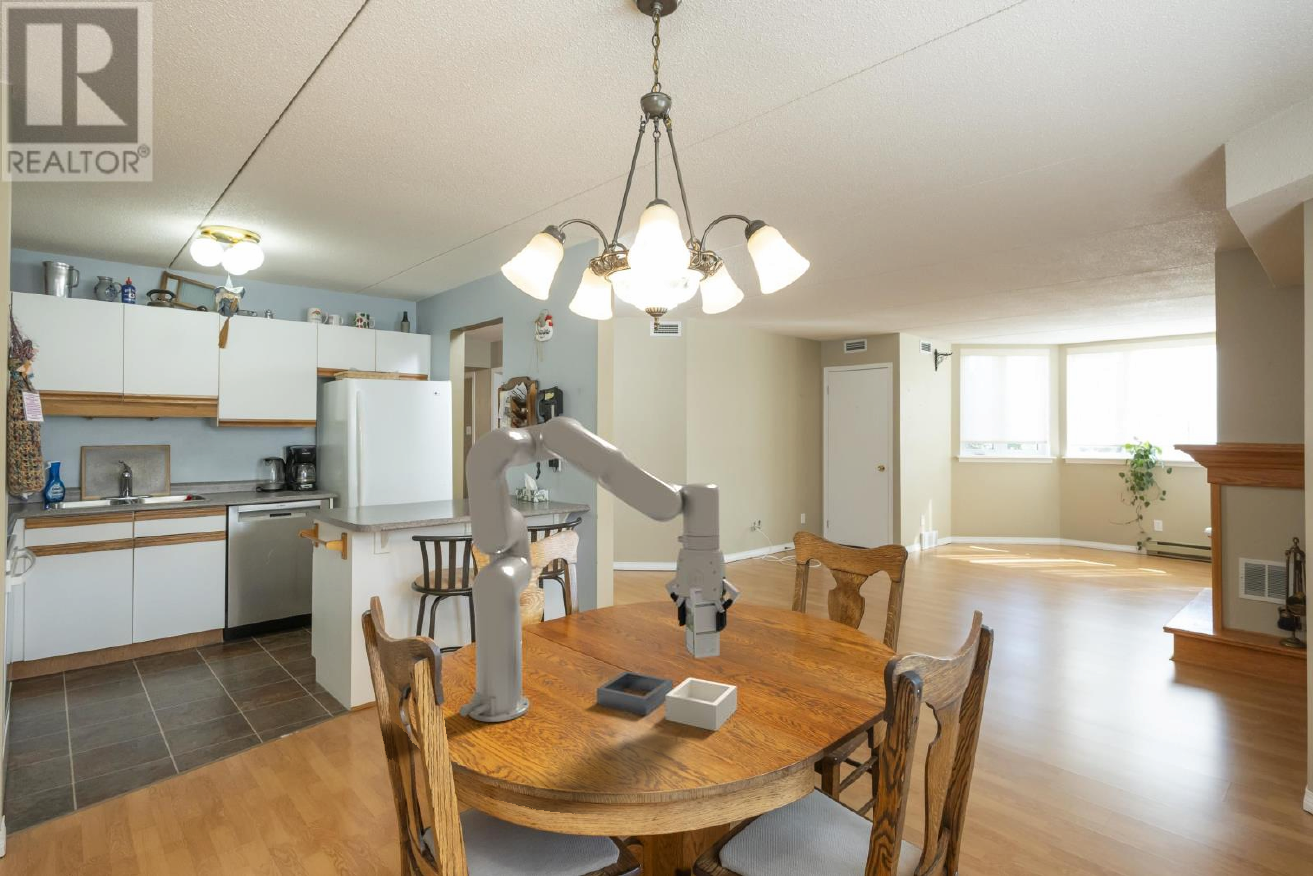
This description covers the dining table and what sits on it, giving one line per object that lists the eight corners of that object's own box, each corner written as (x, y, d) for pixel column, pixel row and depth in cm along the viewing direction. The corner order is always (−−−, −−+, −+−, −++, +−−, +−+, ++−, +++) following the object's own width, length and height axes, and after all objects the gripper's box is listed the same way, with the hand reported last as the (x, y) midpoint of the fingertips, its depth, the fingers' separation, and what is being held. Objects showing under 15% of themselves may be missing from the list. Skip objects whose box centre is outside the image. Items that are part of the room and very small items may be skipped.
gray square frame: (646, 716, 133) (646, 699, 133) (596, 705, 139) (596, 688, 139) (672, 695, 144) (672, 680, 144) (625, 686, 150) (625, 670, 150)
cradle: (716, 731, 126) (716, 705, 126) (665, 719, 132) (665, 695, 132) (736, 710, 136) (736, 686, 136) (689, 700, 142) (689, 677, 142)
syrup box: (720, 656, 132) (720, 585, 132) (693, 659, 130) (693, 587, 131) (710, 647, 138) (710, 579, 138) (684, 650, 136) (683, 581, 136)
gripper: (656, 542, 135) (656, 626, 135) (733, 548, 127) (734, 638, 127) (672, 537, 142) (672, 617, 142) (747, 543, 133) (747, 628, 133)
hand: (701, 626), depth 134 cm, fingers closed on syrup box, 7 cm apart
